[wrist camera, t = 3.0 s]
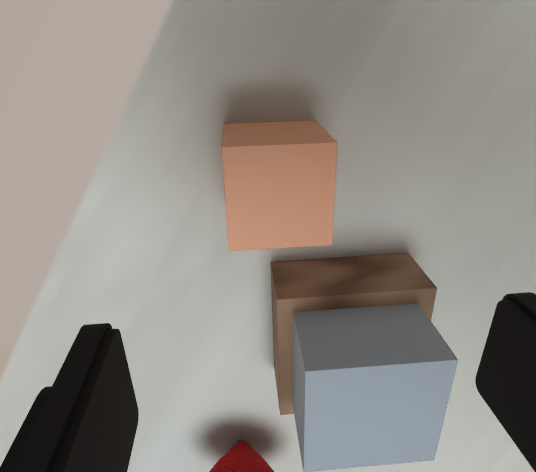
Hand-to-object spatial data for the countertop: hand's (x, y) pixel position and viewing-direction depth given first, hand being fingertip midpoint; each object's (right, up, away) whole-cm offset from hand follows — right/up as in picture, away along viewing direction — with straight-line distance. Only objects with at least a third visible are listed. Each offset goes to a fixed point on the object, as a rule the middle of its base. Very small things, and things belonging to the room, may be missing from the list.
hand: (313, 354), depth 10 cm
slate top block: (+4, -5, +17) cm, 18 cm away
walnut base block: (+4, -3, +21) cm, 22 cm away
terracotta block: (-1, +7, +15) cm, 17 cm away
